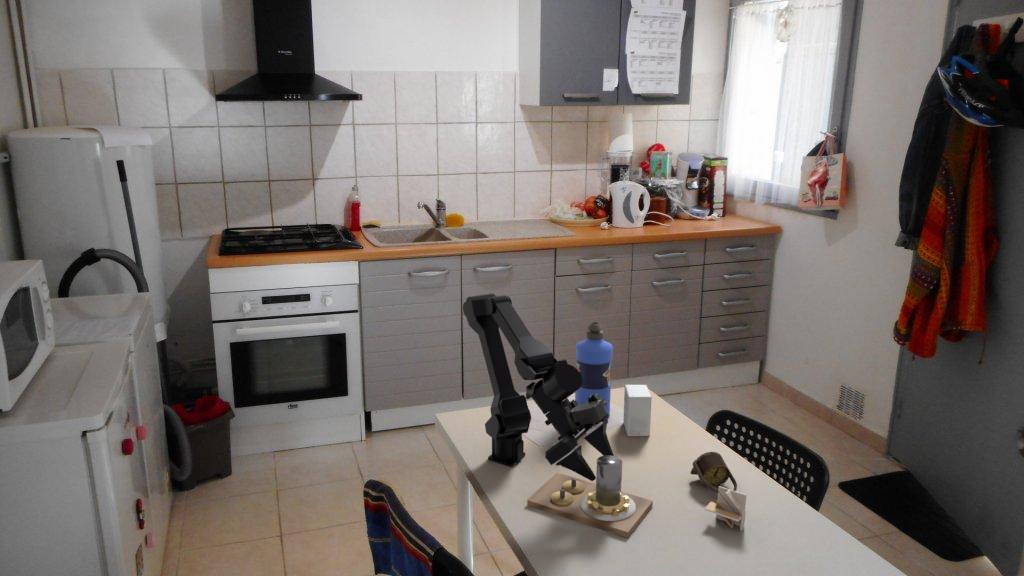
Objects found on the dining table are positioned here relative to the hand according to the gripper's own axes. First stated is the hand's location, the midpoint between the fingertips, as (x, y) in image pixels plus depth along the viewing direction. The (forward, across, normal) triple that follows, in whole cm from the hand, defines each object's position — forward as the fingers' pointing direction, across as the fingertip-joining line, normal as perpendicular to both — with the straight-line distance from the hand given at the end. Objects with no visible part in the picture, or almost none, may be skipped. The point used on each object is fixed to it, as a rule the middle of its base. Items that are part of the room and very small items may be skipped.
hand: (603, 469), depth 150 cm
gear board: (+4, 0, +8) cm, 9 cm away
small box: (+1, +37, +12) cm, 39 cm away
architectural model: (+23, +8, -10) cm, 26 cm away
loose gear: (+6, 0, +4) cm, 8 cm away
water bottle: (-8, +39, +21) cm, 45 cm away
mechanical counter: (+19, +19, -6) cm, 27 cm away
